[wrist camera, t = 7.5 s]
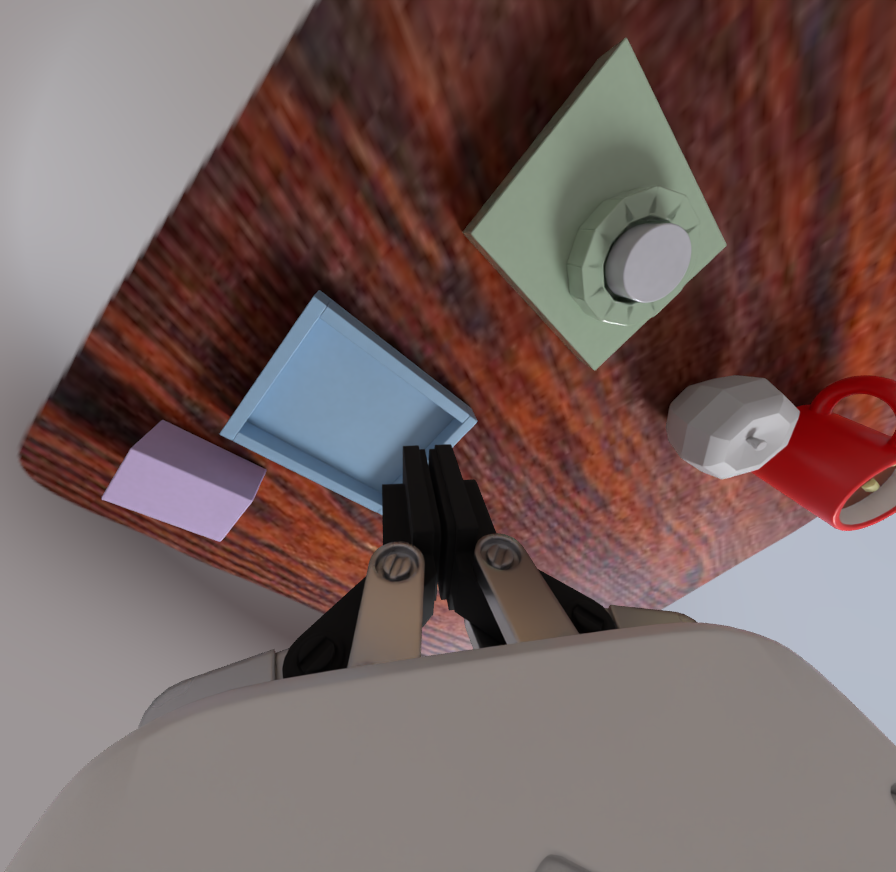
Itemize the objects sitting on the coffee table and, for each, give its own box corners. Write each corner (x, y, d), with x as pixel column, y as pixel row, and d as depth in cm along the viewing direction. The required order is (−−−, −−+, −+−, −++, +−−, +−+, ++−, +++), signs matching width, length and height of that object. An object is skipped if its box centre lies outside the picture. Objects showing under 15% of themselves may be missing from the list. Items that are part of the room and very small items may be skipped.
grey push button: (591, 265, 19) (610, 269, 17) (647, 205, 18) (672, 204, 16) (625, 310, 20) (645, 317, 19) (678, 258, 19) (703, 261, 18)
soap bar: (134, 465, 24) (100, 499, 21) (162, 418, 22) (130, 448, 20) (237, 507, 27) (220, 542, 24) (267, 469, 26) (252, 501, 23)
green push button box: (461, 232, 20) (478, 234, 17) (600, 56, 17) (654, 14, 14) (579, 360, 25) (609, 381, 22) (699, 243, 22) (755, 246, 19)
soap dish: (231, 418, 23) (218, 434, 21) (319, 289, 20) (313, 295, 18) (384, 499, 29) (384, 517, 27) (471, 408, 26) (478, 421, 24)
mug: (866, 355, 30) (1006, 392, 23) (801, 467, 36) (897, 522, 29) (784, 367, 29) (904, 410, 22) (733, 480, 35) (815, 539, 29)
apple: (728, 337, 26) (820, 368, 21) (741, 409, 31) (821, 451, 25) (632, 397, 28) (695, 440, 22) (657, 459, 32) (715, 508, 26)
